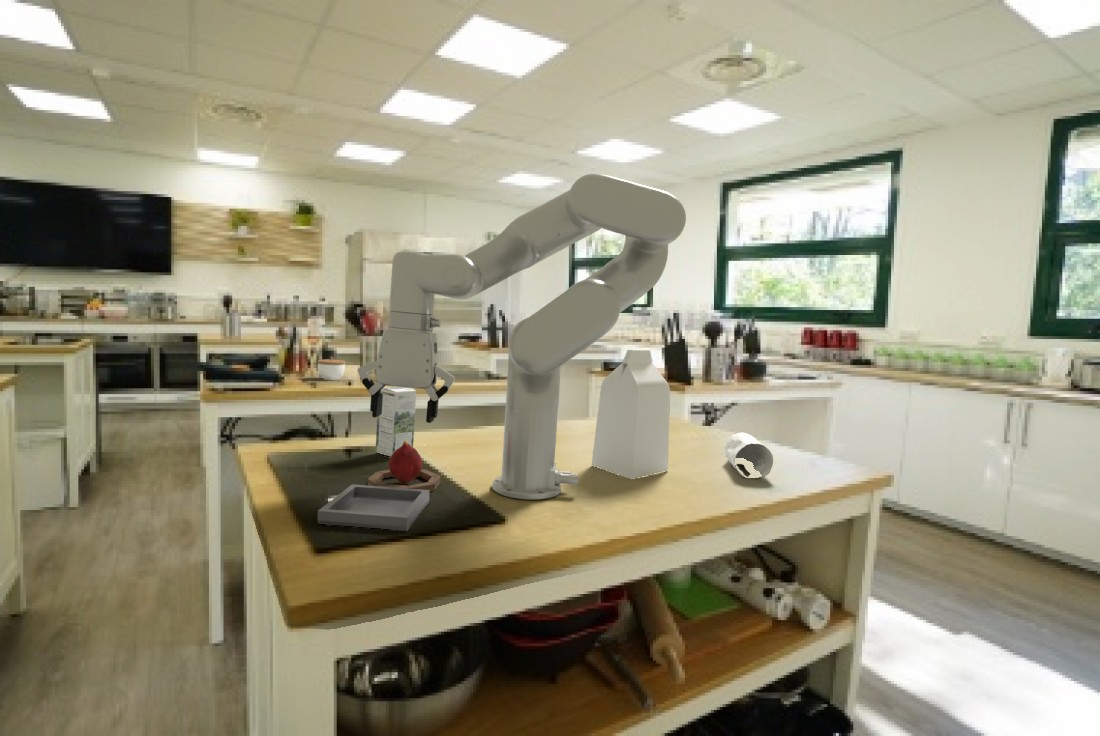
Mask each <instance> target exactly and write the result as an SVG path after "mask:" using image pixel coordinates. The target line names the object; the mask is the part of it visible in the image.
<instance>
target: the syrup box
mask: <svg viewBox="0 0 1100 736" xmlns="http://www.w3.org/2000/svg"><path fill="white" fill-rule="evenodd" d="M381 393H382V394H383V402H382V414H381V415H379V416H377V417H376V434H375V435H376V436H375V453H376V452H377V453H380V454H384V455H388V456H392V454H393V453H394V452H395V451H396V450H397V449H398V448H400V447H401V446H402V445H403V443H404V440H406V441H408V443H409V444H410V445H411V446H412V447H413V448H414V439H415V437H414V436H415V421H416V404H417V401H416V400H417V390H416V389H415V388H405V387H396V386H389V387H388V386H387V387H384V388H383V389H382V390H381Z"/></svg>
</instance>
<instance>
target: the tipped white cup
mask: <svg viewBox="0 0 1100 736" xmlns="http://www.w3.org/2000/svg"><path fill="white" fill-rule="evenodd" d="M724 454H725V457H726V458H727V460H728V462H730V464H731V465H732V466H733V468H734V469H735V470H736V471H737V473H738V474H739V475H740V476H741V473H740V472H739V471H738V470H737V468H736V465H735V458H744V459H746V460H747V461H750V462H752V463H753V465H754V466H753V467H754V469H755V470H756V471H759V472H760V474H761V475H762V476H764V477H763V478H765V477H766V476H768V475H769V474H770V473H771V471H772V468H773V465H774V455H773V453H772V451H771V450H770V449H768V447H766V446H765V445H764V444H762V442H760V441H758V439H756V438H755V437H754V436H753V435H751V434H749V433H746V432H743V431H742V432H737V433H734V434H732V435H730V437H729V438H728V439H727V440H726V444H725V446H724Z"/></svg>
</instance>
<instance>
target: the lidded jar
mask: <svg viewBox="0 0 1100 736" xmlns="http://www.w3.org/2000/svg"><path fill="white" fill-rule="evenodd" d="M345 369H346V360H342V359H334V356H330V359H329V358H328V359H327V358H326V359H318V360H317V370H318V374H319V376H320V377H321V378H322V379H323V381H339V380H340V379H341V378H342V377H343V375H344V374H345ZM338 379H339V380H338Z"/></svg>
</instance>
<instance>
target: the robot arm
mask: <svg viewBox="0 0 1100 736" xmlns="http://www.w3.org/2000/svg"><path fill="white" fill-rule="evenodd" d="M686 223H687V214H686V209H685V207H684V205H683V204H682V202H681V201H680V200H679V199H678V198H677V197H676V196H674V195H673V194H671V193H669V192H668V191H664V190H661V189H658V188H654V187H650V186H647V185H643V184H639V183H636V182H633V181H628V180H625V179H621V178H618V177H615V176H611V175H606V174H601V173H589V174H585V175H583V176H581V177H579V178H578V179H577V180H575V181H574V183H573V184H572V186H571V188H570V189H569V190H567V191H565V192H563V193H560V195H558V196H555V197H554V198H552V199H550V200H548V201H547V202H545V203H543V204H541V205H539V206H536V207H535V208H533V209H531V210H529V211H527V212H526V213H523V214H521V215H520V216H517V218H514V220H513V221H511V222H510V223H509V224H508V225H507V226H506V227H505V229H504V230H503V231H501V233H499V234H498V235H497V236H495V237H494V238H493V239H492V240H490V241H488V242H486V243H485V244H483V245H481V246H480V247H479V248H477V249H474V250H472V251H471V252H469V253H467V254H465V255H462V254H454V253H453V254H452V253H451V254H449V253H448V254H428V253H424V252H420V251H419V252H418V251H406V250H405V251H404V250H402V251H397V252H396V253H395V254H394V256H393V258H392V265H391V278H390V281H391V282H390V291H389V292H390V295H389V306H388V307H389V308H388V310H389V311H388V319H387V320H388V322H387V328H385V329H384V330H383V333H382V336H381V339H380V344H379V348H378V355H377V360H374V361H373V362H370V363H367V364H365V365H362V366H360V367H358V368H357V373H358V376H359V377H360V380H361V383H362V385H363V386H364V387H365V388H366V390H367V391H368V394H369V395H370V406H369V407H370V408H369V411H370V412H372V414H371V417H372V418H377V416H379V415H381V414H382V402H383V394H382V393H381V390H382V389H383V388H386V386H387V387H388V386H389V387H405V388H411V389H415V390H416V389H417V390H424V391H425V392H426V394H427V395H428V396H429V400H427V406H426V416H425V418H426V419H425V422H426V423H428V424H431V423H432V422H434V420H435V419H436V418H437V417H438V411H439V400H440V399H441V398H442V397H443V396H445V395H446V394H447V393H448V392H449V391H450V389H451V388H452V386H453V384H454V383H455V382H456V377H455V375H453V374H451V373H449V372H448V371H447V370H445V369H444V368H442V367H441V366H439V363H438V362H439V361H438V360H439V357H438V355H439V353H438V336H437V332H436V333H435V332H432V331H433V330H434V328H440V327H441V319H437V318H435V315H434V303H435V295H437V296H438V295H439V296H442V297H447V298H450V299H455V300H467V299H470V298H472V297H475V296H476V295H478V294H480V293H482V292H484V291H486V290H488V289H489V288H492V287H494V286H495V285H497V284H499V283H501V282H502V281H505V280H507V279H508V278H510V277H512V276H514V275H515V274H518V273H519V272H522V271H524V270H526V269H529V268H531V267H532V266H534V265H537V264H538V263H540V262H542V261H544V260H546V259H547V258H549V257H550V256H553V255H555V254H556V253H558V252H561V251H562V250H564V249H566V248H567V247H570V246H572V245H574V244H575V243H578V242H580V241H582V240H583V239H585V238H587V237H588V236H590V235H592V234H595V233H597V232H598V231H599V230H602V229H603V230H606V231H609V232H612V233H616V234H619V235H622V236H624V237H625V241H624V246H623V249H622V250H621V251H620V253H619V254H618V255H617V256H615V257H614V258H612V259H610V261H608V262H607V263H606V264H605V265H604V266H602V267H601V268H599V269H598V270H596V271H595V272H593V273H592V274H591V275H589V276H588V277H586V278H585V279H582V280H580V281H578V282H576V283H574V284H572V285H571V286H569V288H568V289H566V290H565V291H563V292H562V293H561V294H560V295H559V296H558V295H557V297H556V298H554V299H553V300H551V301H550V302H549V303H547V304H546V305H544V306H543V307H541V308H540V309H539V310H537V311H536V312H534V313H533V314H531V315H530V316H529V317H526V318H524V319H522V320H520V321H519V322H518V323H516V324H515V326H513V329H512V330H511V333H510V334H509V339H508V356H507V358H508V362H507V382H506V393H505V394H506V399H505V413H504V427H503V430H504V432H503V446H502V447H503V448H502V462H501V463H502V466H501V476H500V475H499V476H498V477H495V478H494V479H493V480H492V487H491V488H492V489H493V491H495V492H496V493H497V494H499V495H500V496H501V495H502V496H504V497H508V498H512V499H518V500H531V501H533V500H547V499H550V498H554V497H557V496H558V495H559V494H561V492H562V484H565V485H566V484H567V485H569V486H570V485H571V486H572V485H573V486H578V485H579V476H580V475H579V474H577V473H573V471H561V470H560V469H557V463H556V462H555V460H556V459H555V458H556V445H557V444H556V443H557V431H558V417H559V415H558V414H559V403H560V390H561V388H560V387H561V366H563V365H564V364H566V363H567V362H568V361H570V360H571V359H573V358H574V357H576V356H577V355H579V354H580V353H582V352H583V351H584V350H586V349H588V348H589V347H590V346H591V345H593V344H594V343H595V342H597V341H599V340H600V339H601V338H602V337H604V336H605V335H607V333H608V332H610V331H611V330H612V329H613V327H615V325H616V323H617V321H618V319H619V316H620V315H621V314H620V313H622V312H623V311H625V310H626V309H627V308H628V307H631V306H632V305H633V304H634V303H635V302H636V301H638V300H639V299H640V298H642V297H643V296H645V294H647V293H648V292H649V291H651V290H652V288H654V287H655V285H656V284H657V283H658V282H659V280H660V278H661V277H662V275H663V272H664V271H665V268H666V264H667V261H668V256H669V244H671V243H673V242H674V241H676V240H677V239H678V238H679V237H680V236H681V235H682V233H683V231H684V229H685V226H686ZM373 370H375V379H376V382H375V381H374V380H373V379H372V378H371V377H370V374H369V373H370V372H371V371H373ZM438 377H440V378H441V379H443V380H444V382H443V385H442V386H441V387H440V388H439V389H438V388H437V387H436V384H437V381H438Z"/></svg>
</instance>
